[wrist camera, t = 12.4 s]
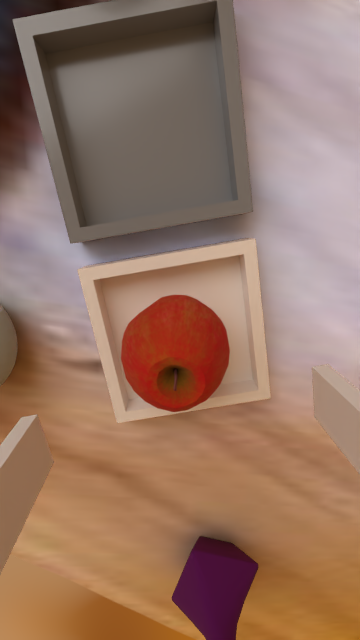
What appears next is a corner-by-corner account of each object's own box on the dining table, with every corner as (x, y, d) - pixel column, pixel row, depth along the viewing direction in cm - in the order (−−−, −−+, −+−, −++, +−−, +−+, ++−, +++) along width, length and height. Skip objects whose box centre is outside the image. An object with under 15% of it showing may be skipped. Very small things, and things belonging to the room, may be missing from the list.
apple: (160, 267, 26) (152, 291, 16) (239, 316, 28) (279, 367, 17) (113, 344, 28) (79, 411, 18) (189, 387, 29) (199, 471, 19)
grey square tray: (81, 242, 26) (70, 243, 23) (32, 46, 22) (12, 19, 20) (244, 213, 26) (252, 211, 23) (223, 9, 22) (230, -23, 19)
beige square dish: (122, 405, 31) (117, 423, 28) (87, 265, 27) (77, 269, 24) (261, 383, 30) (270, 398, 28) (246, 238, 26) (255, 238, 24)
